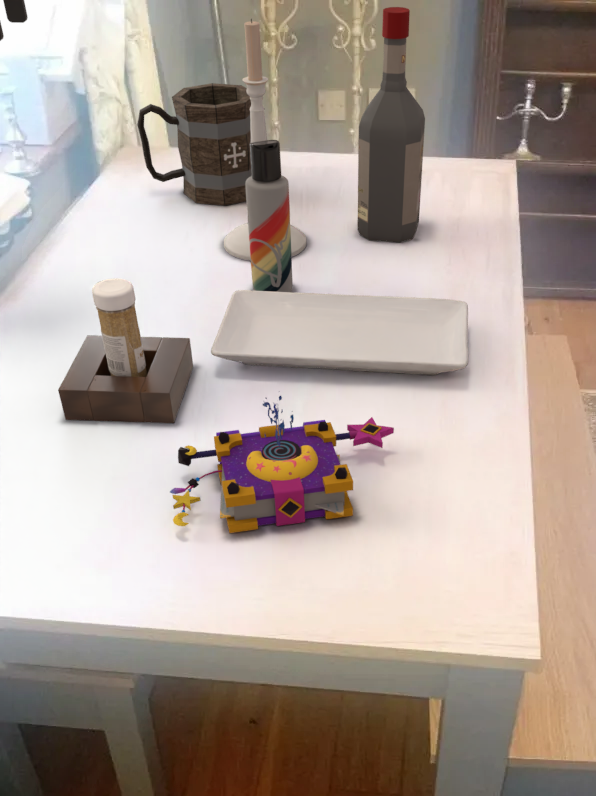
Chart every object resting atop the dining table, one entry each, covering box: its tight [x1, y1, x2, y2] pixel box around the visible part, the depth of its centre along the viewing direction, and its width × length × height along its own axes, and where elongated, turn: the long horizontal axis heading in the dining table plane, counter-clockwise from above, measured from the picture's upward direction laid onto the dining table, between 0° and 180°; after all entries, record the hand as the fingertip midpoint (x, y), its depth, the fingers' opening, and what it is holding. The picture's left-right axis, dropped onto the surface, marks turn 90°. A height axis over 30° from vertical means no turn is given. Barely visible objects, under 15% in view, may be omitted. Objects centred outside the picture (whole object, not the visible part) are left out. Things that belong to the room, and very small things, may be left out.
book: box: [169, 390, 395, 534], centre depth 90 cm, size 14×25×12 cm, turn 102°
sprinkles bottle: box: [91, 277, 147, 377], centre depth 104 cm, size 5×5×14 cm
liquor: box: [356, 6, 426, 244], centre depth 132 cm, size 9×9×30 cm
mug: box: [136, 82, 252, 207], centre depth 150 cm, size 20×14×15 cm
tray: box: [210, 289, 469, 376], centre depth 115 cm, size 17×32×4 cm, turn 84°
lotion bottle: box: [245, 139, 294, 292], centre depth 121 cm, size 6×6×20 cm
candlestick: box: [223, 18, 307, 262], centre depth 129 cm, size 13×13×30 cm
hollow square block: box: [57, 334, 194, 424], centre depth 107 cm, size 13×13×4 cm
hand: (6, 31), depth 102 cm, fingers open, 8 cm apart
